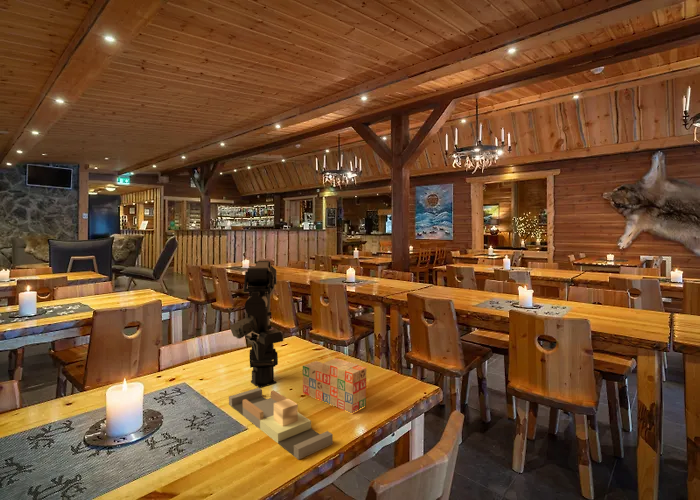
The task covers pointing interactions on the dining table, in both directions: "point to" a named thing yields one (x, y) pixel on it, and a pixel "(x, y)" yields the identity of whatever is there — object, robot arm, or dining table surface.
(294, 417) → the maple block
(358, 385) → the stack of blocks
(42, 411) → the dining table surface
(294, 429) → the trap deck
